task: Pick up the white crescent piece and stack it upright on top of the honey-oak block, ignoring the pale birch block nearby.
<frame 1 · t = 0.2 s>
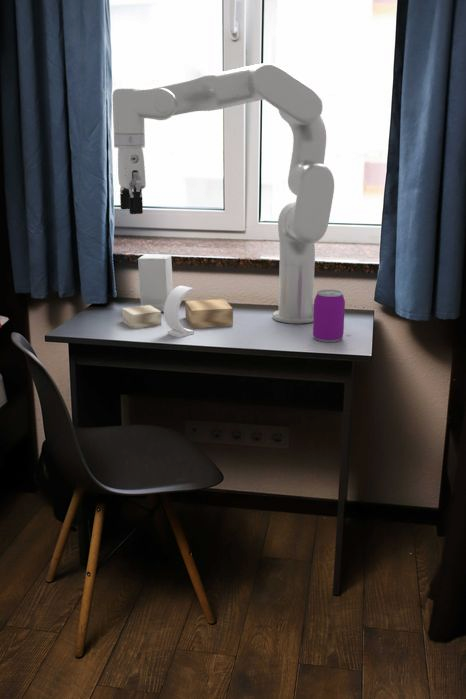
hand: (131, 211, 202), 31 cm above the table, tool pointing down, fingers open, 9 cm apart
white crescent piece: (179, 335, 205), on the table
oak block: (208, 322, 218), on the table
beverage can: (327, 339, 202), on the table
skincare box: (156, 310, 230), on the table
birch block: (141, 324, 216), on the table
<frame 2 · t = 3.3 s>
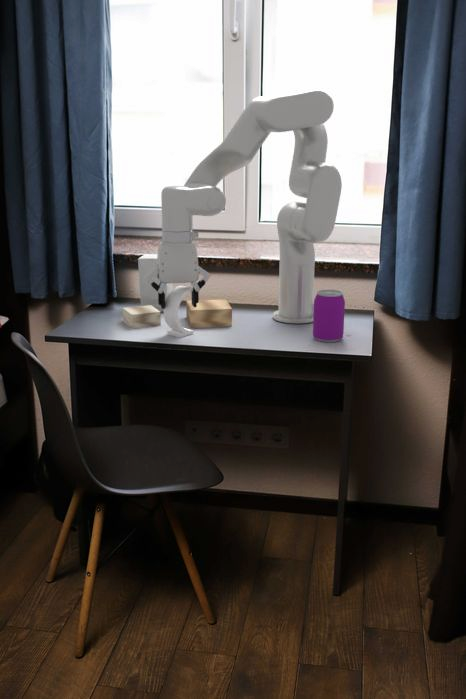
hand: (178, 306, 203), 7 cm above the table, tool pointing down, fingers closed on white crescent piece, 7 cm apart
white crescent piece: (179, 335, 205), on the table, touching gripper
everything else where it was.
when the fingers open (14 cm above the table, at t = 8.7 s): white crescent piece drops 2 cm, resting on oak block.
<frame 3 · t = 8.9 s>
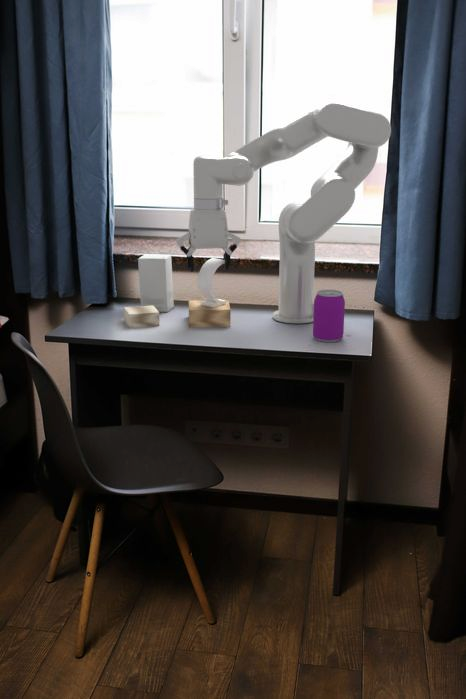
hand: (208, 269, 213), 14 cm above the table, tool pointing down, fingers open, 9 cm apart
white crescent piece: (212, 305, 217), point 4 cm above the table, touching gripper, oak block
oak block: (209, 322, 218), on the table, touching white crescent piece
everything else where it was.
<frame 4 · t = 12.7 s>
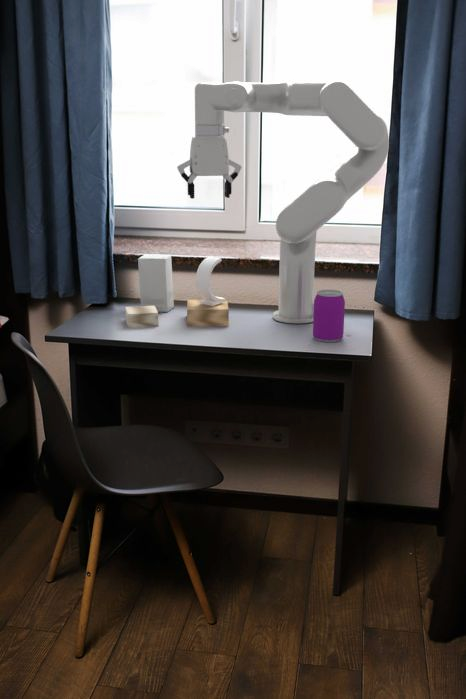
hand: (209, 197, 216), 32 cm above the table, tool pointing down, fingers open, 9 cm apart
white crescent piece: (212, 303, 217), point 5 cm above the table
oak block: (207, 322, 218), on the table
everything else where it was.
at the end: white crescent piece inside the target area on the oak block (1.1 cm from its centre), point 4.9 cm above the oak block's base; white crescent piece tilted 2°; the gripper is holding nothing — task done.
